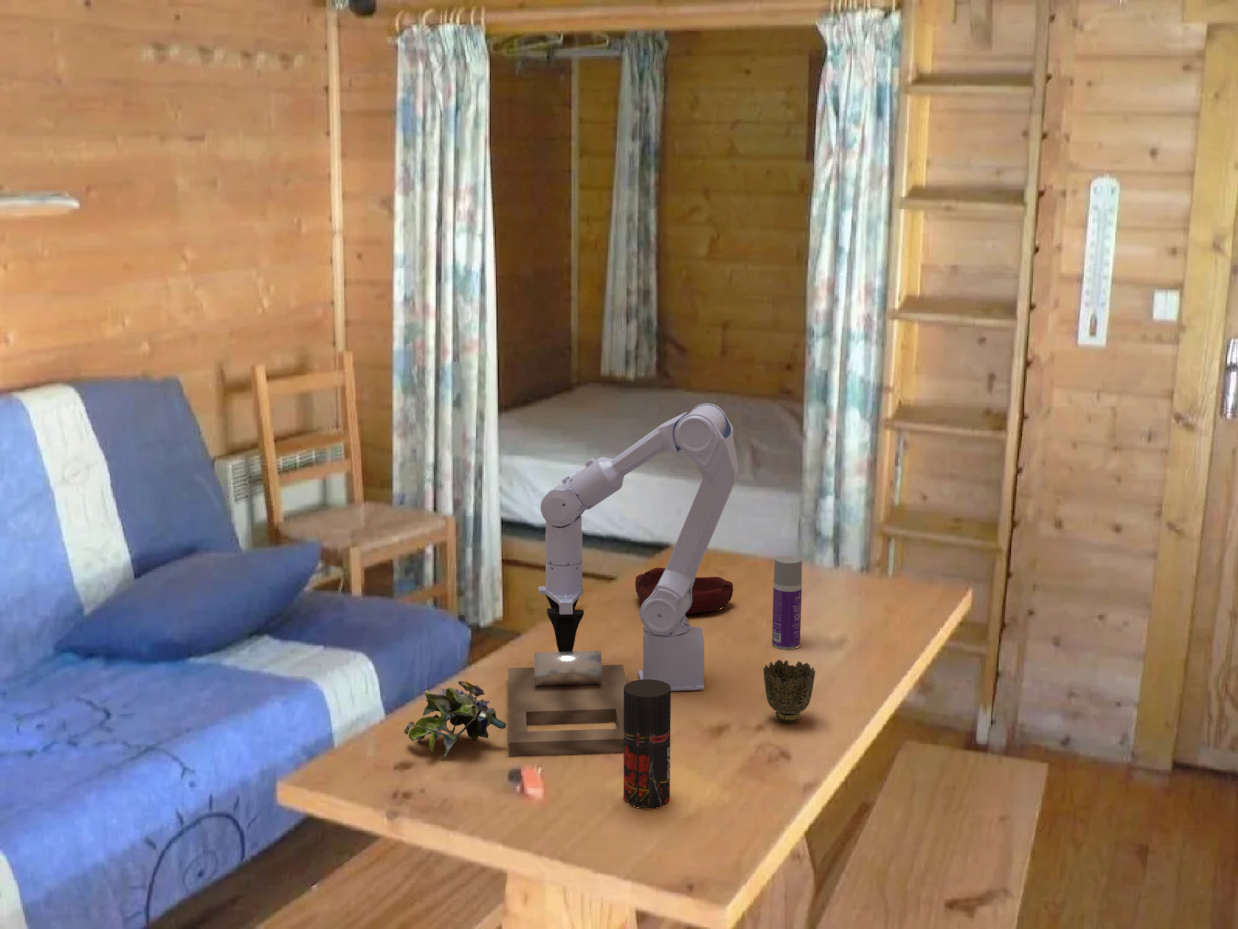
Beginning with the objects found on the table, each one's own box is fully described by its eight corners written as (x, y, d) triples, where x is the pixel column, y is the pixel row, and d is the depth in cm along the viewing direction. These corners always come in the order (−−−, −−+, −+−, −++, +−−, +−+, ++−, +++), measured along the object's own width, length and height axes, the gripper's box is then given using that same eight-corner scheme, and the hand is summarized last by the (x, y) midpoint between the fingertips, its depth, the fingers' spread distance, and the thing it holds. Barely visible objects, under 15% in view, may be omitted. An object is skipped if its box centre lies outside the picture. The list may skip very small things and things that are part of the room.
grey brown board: (622, 676, 216) (622, 664, 216) (640, 751, 189) (640, 738, 188) (508, 680, 215) (508, 668, 214) (509, 756, 187) (508, 742, 187)
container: (798, 650, 227) (801, 564, 224) (770, 648, 228) (772, 562, 225) (801, 641, 232) (803, 556, 228) (773, 639, 233) (775, 554, 229)
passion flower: (473, 775, 194) (522, 712, 192) (441, 794, 184) (492, 728, 181) (415, 722, 197) (463, 659, 194) (381, 738, 186) (430, 672, 184)
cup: (818, 714, 202) (819, 662, 200) (808, 733, 195) (809, 680, 193) (768, 707, 204) (769, 656, 202) (756, 726, 197) (758, 674, 195)
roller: (599, 682, 210) (599, 649, 210) (602, 685, 205) (601, 651, 205) (534, 684, 209) (533, 651, 210) (535, 687, 204) (534, 653, 205)
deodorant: (621, 788, 178) (621, 680, 175) (667, 787, 178) (667, 678, 175) (625, 810, 172) (625, 697, 169) (672, 808, 173) (673, 696, 169)
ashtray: (609, 612, 247) (609, 585, 246) (658, 589, 260) (658, 564, 259) (693, 631, 237) (693, 604, 236) (740, 606, 250) (740, 580, 249)
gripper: (537, 548, 220) (537, 628, 223) (539, 575, 206) (540, 660, 209) (581, 547, 221) (581, 627, 224) (586, 574, 207) (586, 659, 210)
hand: (564, 643), depth 217 cm, fingers open, 7 cm apart
